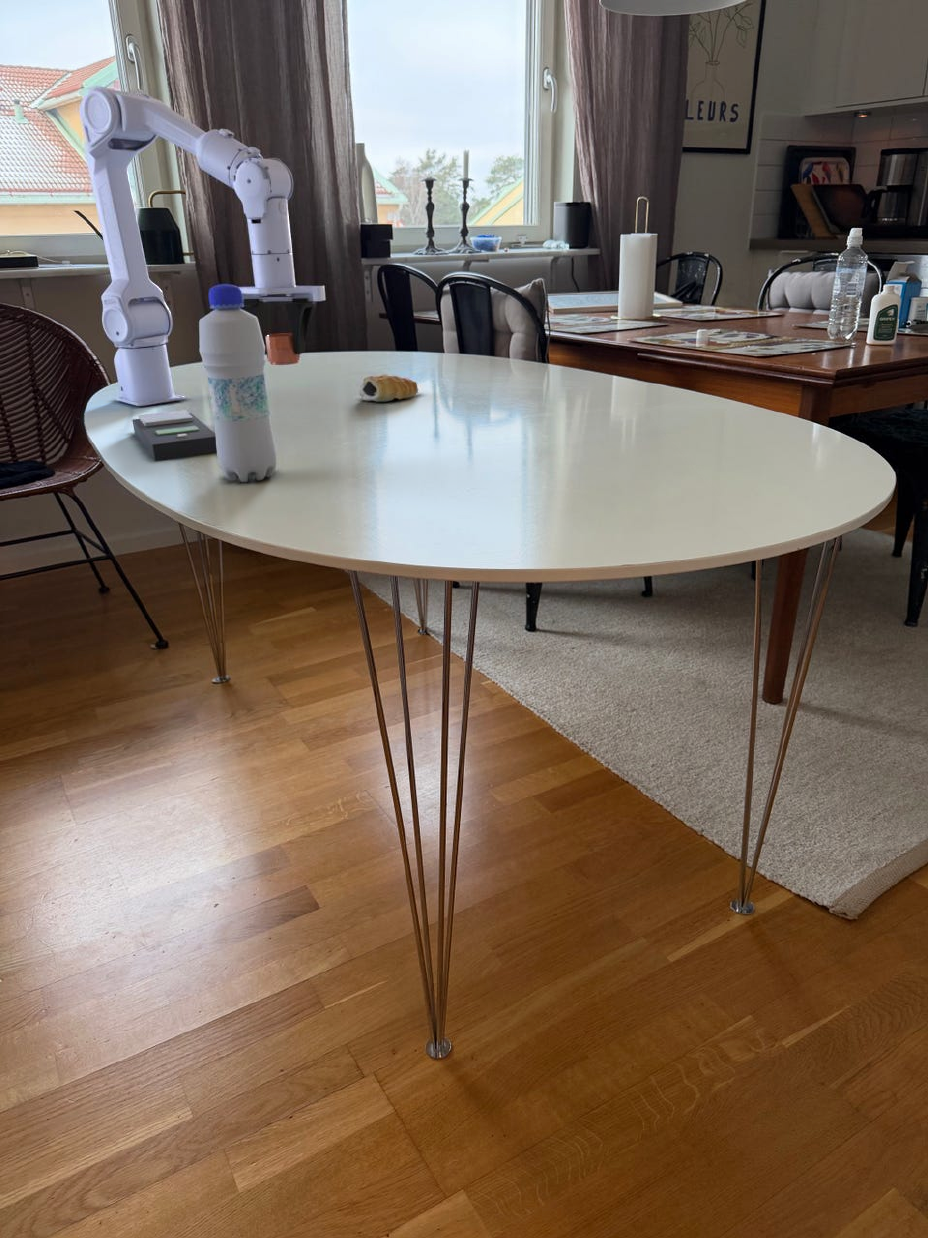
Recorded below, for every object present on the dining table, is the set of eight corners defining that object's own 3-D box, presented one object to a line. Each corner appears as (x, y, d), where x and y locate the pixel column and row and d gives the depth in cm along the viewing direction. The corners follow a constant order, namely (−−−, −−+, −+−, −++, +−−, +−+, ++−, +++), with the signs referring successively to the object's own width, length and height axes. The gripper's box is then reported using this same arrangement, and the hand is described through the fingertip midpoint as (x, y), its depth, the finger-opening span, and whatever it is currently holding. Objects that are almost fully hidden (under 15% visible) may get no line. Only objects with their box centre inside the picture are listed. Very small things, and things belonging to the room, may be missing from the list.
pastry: (402, 391, 142) (400, 367, 141) (428, 396, 138) (427, 371, 136) (356, 399, 137) (354, 375, 135) (382, 405, 132) (380, 379, 130)
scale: (134, 433, 118) (131, 415, 117) (193, 426, 121) (190, 408, 120) (155, 460, 103) (151, 440, 102) (221, 451, 106) (218, 431, 105)
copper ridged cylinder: (262, 363, 128) (258, 335, 126) (289, 359, 131) (286, 332, 129) (279, 366, 125) (276, 337, 123) (307, 362, 127) (304, 334, 126)
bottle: (228, 469, 98) (201, 282, 90) (286, 468, 98) (264, 280, 90) (211, 485, 92) (180, 286, 84) (272, 484, 92) (247, 284, 83)
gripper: (211, 255, 120) (225, 356, 126) (305, 253, 116) (315, 357, 122) (237, 254, 126) (250, 349, 132) (327, 251, 122) (336, 350, 128)
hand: (283, 353), depth 127 cm, fingers closed on copper ridged cylinder, 5 cm apart
